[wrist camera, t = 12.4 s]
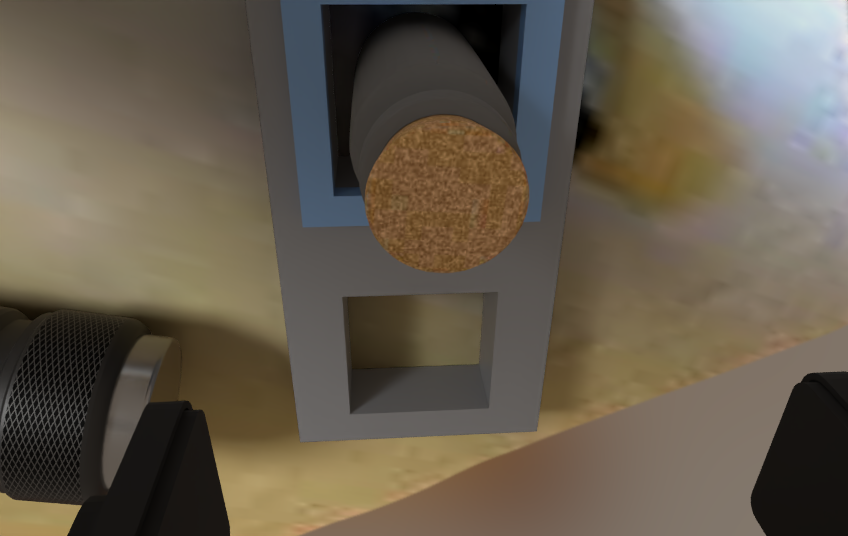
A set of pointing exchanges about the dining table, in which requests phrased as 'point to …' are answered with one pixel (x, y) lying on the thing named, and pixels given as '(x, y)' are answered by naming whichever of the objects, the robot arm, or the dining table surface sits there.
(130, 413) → the muzzle brake
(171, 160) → the dining table surface
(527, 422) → the grey cinder block
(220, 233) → the dining table surface
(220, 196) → the dining table surface
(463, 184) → the bottle
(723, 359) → the dining table surface
